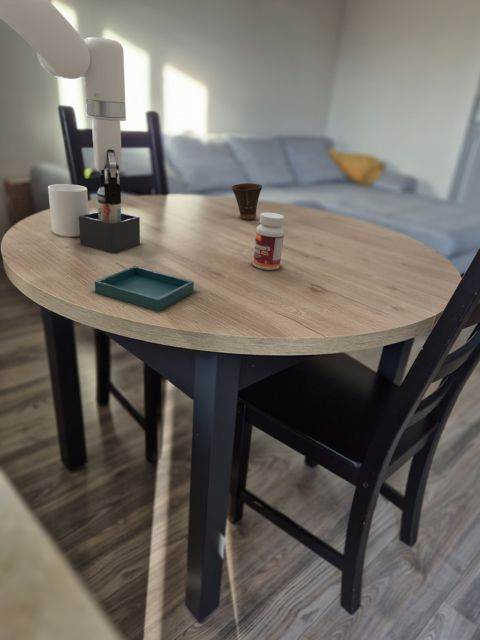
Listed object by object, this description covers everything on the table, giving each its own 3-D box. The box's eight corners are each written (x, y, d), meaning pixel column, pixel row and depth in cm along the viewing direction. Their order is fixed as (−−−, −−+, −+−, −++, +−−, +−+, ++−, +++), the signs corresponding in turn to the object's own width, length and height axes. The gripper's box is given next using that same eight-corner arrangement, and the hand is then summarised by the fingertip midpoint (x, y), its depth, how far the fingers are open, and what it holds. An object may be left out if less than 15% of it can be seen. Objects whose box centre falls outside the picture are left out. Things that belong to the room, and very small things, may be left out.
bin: (80, 244, 107) (78, 215, 104) (108, 236, 114) (107, 209, 112) (113, 253, 104) (112, 224, 101) (140, 244, 112) (139, 217, 109)
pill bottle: (247, 265, 107) (252, 213, 101) (262, 259, 111) (267, 210, 106) (270, 272, 104) (276, 220, 99) (284, 266, 109) (291, 216, 103)
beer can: (97, 240, 110) (94, 186, 104) (118, 239, 112) (117, 186, 106) (102, 246, 106) (100, 190, 101) (124, 245, 108) (122, 190, 103)
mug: (45, 224, 117) (40, 180, 113) (80, 223, 122) (77, 181, 117) (56, 238, 109) (52, 191, 104) (94, 236, 113) (91, 191, 108)
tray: (95, 292, 84) (94, 281, 83) (135, 275, 93) (134, 265, 92) (158, 311, 80) (158, 300, 79) (193, 291, 89) (194, 281, 88)
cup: (223, 215, 147) (226, 181, 142) (246, 214, 152) (249, 181, 148) (241, 222, 141) (244, 187, 136) (264, 220, 147) (268, 186, 142)
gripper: (84, 106, 102) (89, 189, 110) (89, 112, 88) (95, 207, 96) (120, 109, 105) (123, 190, 113) (131, 116, 91) (134, 207, 99)
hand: (110, 198), depth 105 cm, fingers open, 9 cm apart
